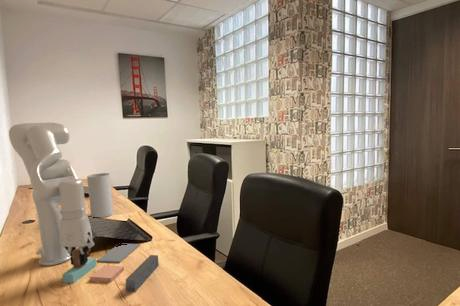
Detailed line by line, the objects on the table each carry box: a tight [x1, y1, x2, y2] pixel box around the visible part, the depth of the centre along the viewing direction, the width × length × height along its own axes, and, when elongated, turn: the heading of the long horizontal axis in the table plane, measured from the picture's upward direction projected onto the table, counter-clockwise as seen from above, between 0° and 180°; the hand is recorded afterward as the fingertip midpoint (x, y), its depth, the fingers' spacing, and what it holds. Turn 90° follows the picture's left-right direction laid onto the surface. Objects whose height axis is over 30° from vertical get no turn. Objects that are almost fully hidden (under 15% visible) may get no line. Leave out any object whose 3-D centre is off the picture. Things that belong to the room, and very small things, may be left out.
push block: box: [62, 247, 97, 284], centre depth 103 cm, size 4×12×9 cm, turn 169°
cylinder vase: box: [86, 172, 114, 219], centre depth 173 cm, size 12×12×25 cm
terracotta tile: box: [89, 264, 125, 283], centre depth 101 cm, size 8×8×2 cm
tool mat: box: [96, 243, 141, 264], centre depth 119 cm, size 10×16×1 cm, turn 169°
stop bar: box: [125, 254, 160, 293], centre depth 98 cm, size 3×17×4 cm, turn 169°
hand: (79, 262), depth 103 cm, fingers closed on push block, 3 cm apart
